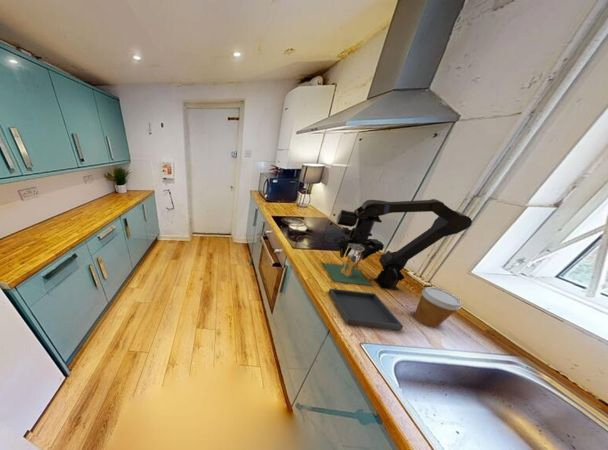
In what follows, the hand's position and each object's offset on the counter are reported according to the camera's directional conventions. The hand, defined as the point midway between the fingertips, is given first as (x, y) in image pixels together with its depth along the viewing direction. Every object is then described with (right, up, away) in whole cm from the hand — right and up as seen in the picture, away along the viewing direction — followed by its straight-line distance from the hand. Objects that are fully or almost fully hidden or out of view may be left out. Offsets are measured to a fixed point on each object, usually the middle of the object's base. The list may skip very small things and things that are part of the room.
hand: (351, 258), depth 93 cm
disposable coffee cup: (+13, -20, -20) cm, 31 cm away
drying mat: (0, -8, +4) cm, 9 cm away
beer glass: (0, -8, +4) cm, 9 cm away
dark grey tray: (-8, -17, -16) cm, 25 cm away
